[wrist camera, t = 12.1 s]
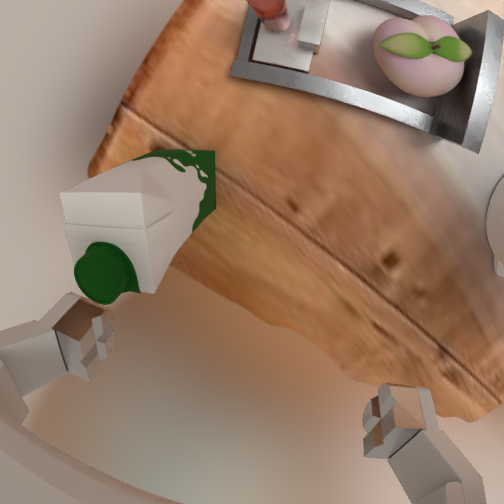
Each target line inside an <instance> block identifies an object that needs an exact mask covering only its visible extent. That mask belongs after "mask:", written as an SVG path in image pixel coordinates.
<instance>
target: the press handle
mask: <svg viewBox="0 0 504 504" xmlns="http://www.w3.org/2000/svg"><path fill="white" fill-rule="evenodd" d="M247 1H248V3H249V4H250V5H251V7H252V8H253V10H254V11H255V13H256V14H257V16H258V17H259V19H260V20H261V25H260V29H259V33H258V38H257V42H256V46H255V51H254V55H253V59H252V60H254V61H255V62H260V63H265V64H270V65H275V66H280V67H285V68H289V69H294V70H298V71H303V72H307V73H309V70H310V65H311V61H312V57H313V53H316V54H318V52H319V48H320V44H321V39H322V35H323V31H324V26H325V22H326V18H327V13H328V8H329V2H330V0H247Z"/></svg>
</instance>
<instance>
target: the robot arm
mask: <svg viewBox="0 0 504 504" xmlns="http://www.w3.org/2000/svg"><path fill="white" fill-rule="evenodd" d="M486 230H487V237H488V241H489V244H490V247H491V249H492V251H493V254H494V271H495V273H496V274H497V275H498V276H500V277H504V177H503V178H502V179H501V180H500V182H499V183H498V185H497V187H496V189H495V190H494V193H493V195H492V197H491V200H490V203H489V207H488V212H487V220H486ZM113 319H114V317H113V311H112V310H111V309H110V308H107V307H105V306H103V305H101V304H98V303H96V302H94V301H91V300H89V299H87V298H84V297H82V296H79V295H77V294H75V293H73V292H70V293H67V294H66V295H64V297H62V298H61V299H60V300H59V302H57V303H56V304H55V305H54V307H52V308H51V309H50V310H49V311H48V312H47V313H46V314H45V315H44V316H43V318H41V319H40V320H39V321H36V320H33V321H30V322H27V323H24V324H21V325H17V326H14V327H11V328H8V329H5V330H2V331H0V504H182V503H179V502H176V501H173V500H170V499H167V498H164V497H161V496H158V495H156V494H153V493H150V492H148V491H145V490H142V489H140V488H137V487H135V486H132V485H130V484H128V483H125V482H123V481H120V480H118V479H116V478H114V477H112V476H110V475H108V474H105V473H103V472H101V471H99V470H97V469H95V468H93V467H91V466H89V465H87V464H85V463H83V462H82V461H80V460H78V459H76V458H74V457H72V456H71V455H69V454H67V453H65V452H63V451H62V450H60V449H58V448H57V447H55V446H53V445H52V444H50V443H48V442H47V441H45V440H44V439H42V438H41V437H39V436H37V435H36V434H34V433H33V432H31V431H30V430H28V429H27V428H26V427H24V426H23V425H21V424H22V423H23V421H24V419H25V418H26V417H27V415H28V413H29V409H28V407H27V405H26V404H25V402H24V400H23V399H22V397H23V396H25V395H27V394H29V393H31V392H32V391H34V390H36V389H38V388H40V387H42V386H44V385H46V384H48V383H50V382H52V381H54V380H56V379H58V378H60V377H61V376H63V375H65V374H67V372H69V373H71V374H73V375H75V376H77V377H79V378H82V379H84V380H86V381H88V382H91V380H92V379H93V377H94V376H95V375H96V373H97V372H98V370H99V369H100V360H102V359H104V358H107V357H108V356H109V354H110V352H111V351H112V348H113V345H114V343H115V336H116V335H115V329H114V327H113V326H112V325H111V322H112V320H113ZM363 428H364V429H365V430H366V432H367V433H368V434H367V435H366V436H365V438H364V439H363V443H364V457H369V458H381V459H388V462H389V464H390V466H391V468H392V469H393V471H394V473H395V475H396V476H397V478H398V480H399V482H400V483H401V485H402V487H403V489H404V491H405V492H406V494H407V496H408V498H409V499H410V501H411V503H412V504H486V497H485V491H484V485H483V480H482V477H481V476H480V474H479V473H478V472H477V471H476V469H475V468H474V467H473V466H472V465H471V463H470V462H469V461H468V460H467V458H466V457H465V456H464V455H463V454H462V452H461V451H460V450H459V449H458V448H457V447H456V445H455V444H454V443H453V442H452V441H451V440H450V438H449V437H448V436H447V435H446V434H445V432H444V431H442V430H439V426H438V421H437V417H436V413H435V409H434V404H433V400H432V396H431V393H430V390H429V389H428V388H423V387H413V386H407V385H399V384H392V383H384V384H383V385H381V387H380V388H379V389H378V396H376V397H374V398H372V399H371V400H370V401H369V403H368V404H367V405H366V408H365V410H364V413H363Z"/></svg>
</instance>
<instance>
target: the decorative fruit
mask: <svg viewBox="0 0 504 504" xmlns="http://www.w3.org/2000/svg"><path fill="white" fill-rule="evenodd" d="M372 48H373V53H374V57H375V59H376V61H377V63H378V65H379V67H380V68H381V70H382V71H383V72H384V74H385V75H386V76H387V77H388V78H389V80H390V81H391V82H392V83H393V84H395V85H396V86H397V87H398V88H400V89H401V90H403V91H404V92H406V93H409V94H412V95H415V96H419V97H434V96H439V95H442V94H445V93H447V92H449V91H450V90H452V89H453V88H454V87H455V86H456V85H457V84H458V83H459V82H460V80H461V78H462V76H463V72H464V61H465V60H467V59H468V58H469V57H470V56H471V54H472V51H471V49H470V47H469V46H468V45H467V44H466V43H464V42H463V41H461V40H460V39H459V37H458V35H457V33H456V32H455V31H454V29H453V28H452V27H451V26H450V25H449V24H447V23H446V22H445V21H443V20H441V19H439V18H438V17H434V16H430V15H421V16H418V17H416V18H414V19H413V20H411V21H410V20H407V19H403V18H393V19H389V20H387V21H385V22H383V23H382V24H381V25H380V26H379V27H378V28H377V30H376V32H375V34H374V37H373V42H372Z"/></svg>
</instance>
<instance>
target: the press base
mask: <svg viewBox="0 0 504 504" xmlns="http://www.w3.org/2000/svg"><path fill="white" fill-rule="evenodd" d="M354 1H358V2H361V3H364V4H367V5H371V6H374V7H377V8H380V9H382V10H385V11H388V12H391V13H394V14H396V15H399V16H401V17H404V18H407V19H409V20H413V19H414V18H416V17H418V16H421V15H430V16H434V17H438V18H439V19H441V20H443V21H445V22H446V23H447V24H449V25H450V26H451V27H452V28H453V29H454V31H455V32H456V33H457V35H458V37H459V39H460V40H461V41H463V42H464V43H466V44H467V45H468V46H469V47H470V49H471V51H472V54H471V56H470V57H469V58H468V59H467V60H465V61H464V72H463V76H462V78H461V80H460V82H459V83H458V84H457V85H456V86H455V87H454V88H453V89H452V90H450V91H449V92H447V93H445V94H442V95H439V96H438V98H437V102H436V106H435V110H434V113H433V117H432V116H430V115H428V114H425V113H423V112H421V111H418V110H416V109H413V108H411V107H408V106H406V105H403V104H401V103H398V102H396V101H393V100H390V99H387V98H385V97H382V96H379V95H376V94H373V93H370V92H368V91H364V90H361V89H358V88H355V87H352V86H349V85H345V84H342V83H339V82H335V81H332V80H328V79H325V78H321V77H317V76H313V75H309V74H305V73H301V72H297V71H292V70H288V69H283V68H278V67H273V66H268V65H263V64H258V63H252V62H251V59H252V54H253V50H254V46H255V41H256V37H257V33H258V29H259V24H260V19H259V17H258V16H257V14H256V13H255V11H254V10H253V8H252V7H251V5H249V9H248V13H247V17H246V21H245V25H244V29H243V33H242V38H241V42H240V46H239V51H238V55H237V60H233V64H232V69H231V74H230V76H232V77H236V78H241V79H247V80H252V81H258V82H263V83H268V84H273V85H277V86H282V87H286V88H291V89H295V90H299V91H303V92H307V93H311V94H315V95H319V96H322V97H326V98H330V99H333V100H336V101H340V102H343V103H347V104H350V105H353V106H356V107H359V108H362V109H365V110H368V111H371V112H374V113H377V114H380V115H383V116H386V117H388V118H391V119H394V120H396V121H399V122H402V123H404V124H407V125H409V126H412V127H414V128H417V129H419V130H422V131H425V132H428V133H429V134H431V135H433V136H436V137H438V138H440V139H442V140H445V141H448V142H450V143H453V144H456V145H458V146H461V147H463V148H466V149H468V150H471V151H473V152H475V153H478V154H479V151H480V148H481V145H482V141H483V138H484V134H485V131H486V127H487V123H488V119H489V115H490V111H491V107H492V102H493V98H494V93H495V88H496V83H497V78H498V72H499V66H500V60H501V53H502V46H503V37H504V20H503V19H501V18H500V17H498V16H497V15H495V14H494V13H492V12H490V11H489V10H488V11H485V12H483V13H480V14H478V15H475V16H473V17H471V18H468V19H466V20H464V21H461V22H459V23H457V24H455V25H453V20H454V17H453V16H451V15H449V14H447V13H445V12H443V11H441V10H438V9H436V8H434V7H432V6H430V5H428V4H425V3H423V2H421V1H418V0H354Z"/></svg>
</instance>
